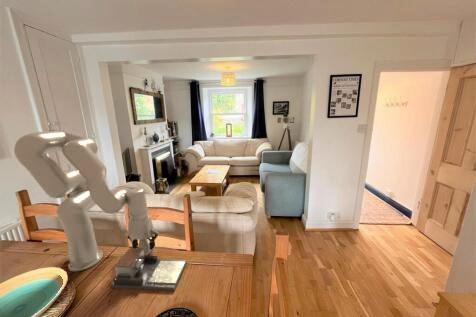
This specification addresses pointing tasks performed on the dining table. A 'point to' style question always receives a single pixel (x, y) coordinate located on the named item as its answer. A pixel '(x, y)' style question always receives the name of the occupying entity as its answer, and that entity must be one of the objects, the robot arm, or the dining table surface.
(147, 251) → the flask
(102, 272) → the dining table surface
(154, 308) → the dining table surface
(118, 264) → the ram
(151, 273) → the press base
